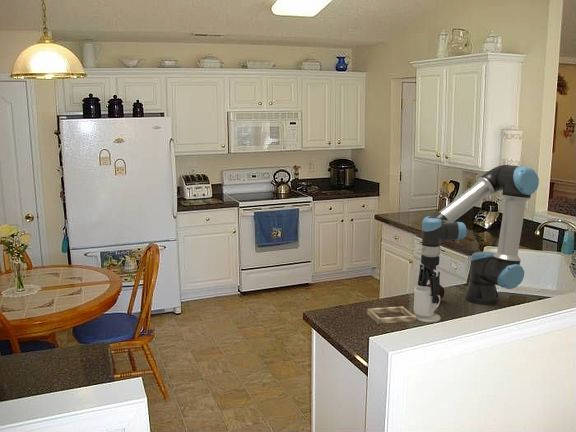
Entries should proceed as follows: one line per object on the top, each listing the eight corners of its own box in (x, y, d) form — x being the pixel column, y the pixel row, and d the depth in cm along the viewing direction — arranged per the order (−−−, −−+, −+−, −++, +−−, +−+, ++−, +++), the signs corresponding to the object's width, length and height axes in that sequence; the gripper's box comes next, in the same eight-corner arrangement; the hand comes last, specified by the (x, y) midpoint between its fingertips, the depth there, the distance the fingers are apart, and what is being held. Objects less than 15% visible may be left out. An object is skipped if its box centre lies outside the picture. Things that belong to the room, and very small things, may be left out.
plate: (432, 312, 242) (432, 311, 242) (445, 321, 231) (445, 319, 231) (409, 314, 240) (409, 312, 239) (420, 323, 229) (421, 321, 229)
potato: (448, 303, 255) (449, 284, 253) (427, 306, 250) (428, 287, 248) (436, 298, 263) (437, 279, 261) (415, 301, 258) (416, 282, 256)
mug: (444, 315, 233) (446, 290, 231) (419, 317, 229) (420, 292, 228) (434, 308, 241) (435, 285, 239) (409, 310, 238) (410, 286, 236)
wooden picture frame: (402, 310, 244) (402, 306, 244) (415, 321, 231) (416, 316, 231) (366, 313, 241) (366, 308, 240) (377, 323, 228) (378, 319, 227)
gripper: (411, 249, 240) (408, 299, 244) (434, 261, 220) (431, 315, 223) (427, 249, 242) (424, 298, 246) (451, 260, 221) (448, 314, 225)
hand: (427, 306), depth 235 cm, fingers closed on mug, 9 cm apart
